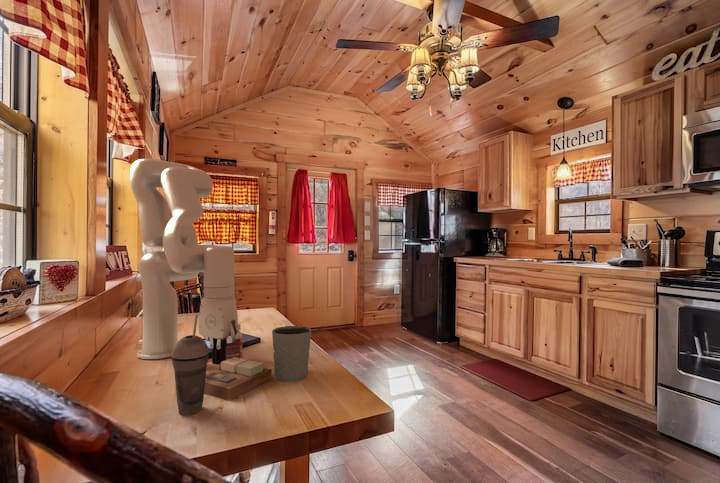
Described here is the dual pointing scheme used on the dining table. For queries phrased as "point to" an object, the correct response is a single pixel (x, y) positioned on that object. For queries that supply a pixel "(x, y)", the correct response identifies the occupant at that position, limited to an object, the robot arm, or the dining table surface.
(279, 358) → the grey green cup
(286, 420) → the dining table surface
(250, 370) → the key sage
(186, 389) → the beverage cup
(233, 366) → the key cream
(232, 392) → the keypad board
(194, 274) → the robot arm
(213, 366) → the key terracotta
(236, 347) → the pill bottle
